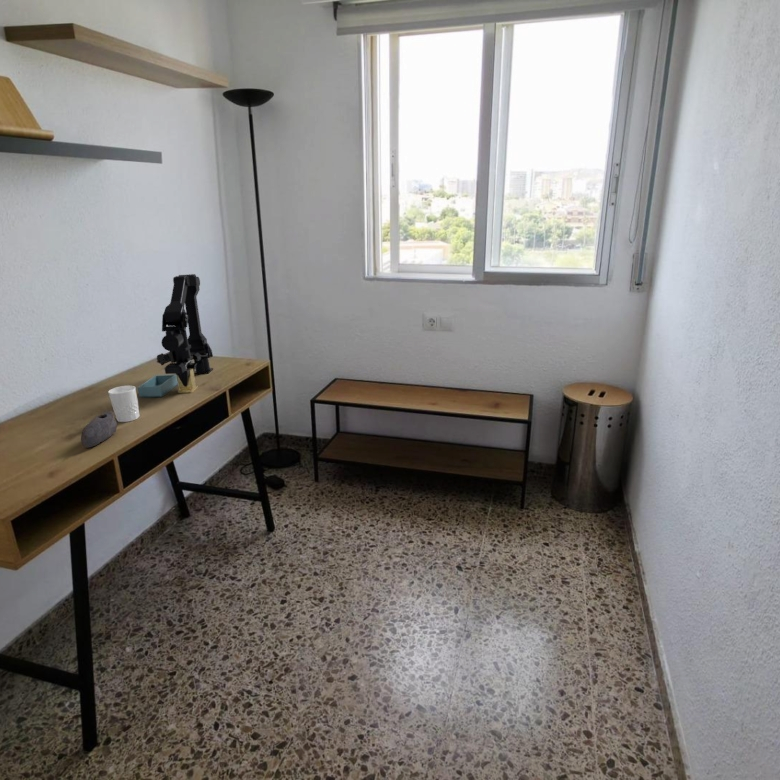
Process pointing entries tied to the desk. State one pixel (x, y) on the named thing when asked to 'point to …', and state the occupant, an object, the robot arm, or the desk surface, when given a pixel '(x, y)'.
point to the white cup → (124, 403)
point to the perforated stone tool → (99, 429)
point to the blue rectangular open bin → (157, 386)
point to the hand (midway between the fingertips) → (187, 384)
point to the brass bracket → (191, 383)
